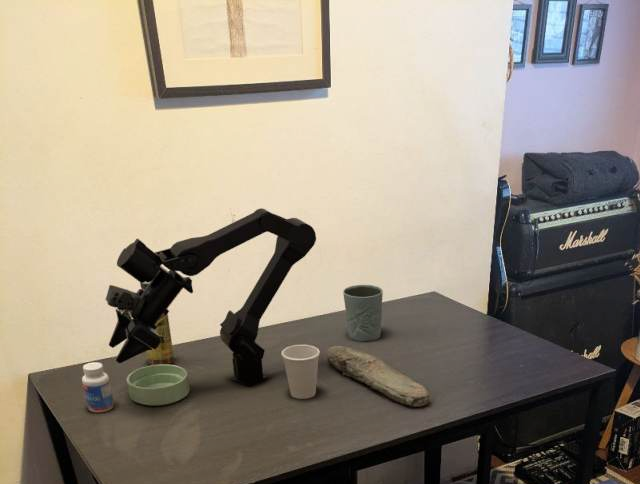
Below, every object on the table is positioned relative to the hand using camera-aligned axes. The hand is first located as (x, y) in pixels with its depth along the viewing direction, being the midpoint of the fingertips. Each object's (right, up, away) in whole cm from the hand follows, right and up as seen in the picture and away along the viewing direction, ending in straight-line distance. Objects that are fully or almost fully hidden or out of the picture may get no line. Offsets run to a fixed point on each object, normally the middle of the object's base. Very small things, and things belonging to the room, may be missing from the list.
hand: (114, 354), depth 163 cm
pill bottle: (-4, -11, +5) cm, 13 cm away
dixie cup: (+39, -7, +11) cm, 41 cm away
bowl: (+7, -7, +10) cm, 14 cm away
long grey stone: (+55, -3, +17) cm, 58 cm away
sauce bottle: (+3, +3, +25) cm, 26 cm away
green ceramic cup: (+52, +13, +41) cm, 67 cm away
